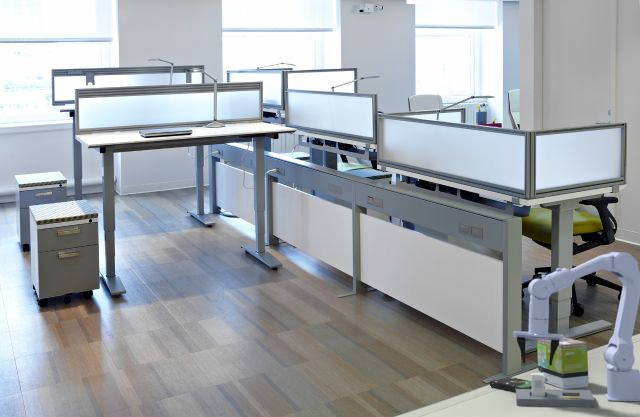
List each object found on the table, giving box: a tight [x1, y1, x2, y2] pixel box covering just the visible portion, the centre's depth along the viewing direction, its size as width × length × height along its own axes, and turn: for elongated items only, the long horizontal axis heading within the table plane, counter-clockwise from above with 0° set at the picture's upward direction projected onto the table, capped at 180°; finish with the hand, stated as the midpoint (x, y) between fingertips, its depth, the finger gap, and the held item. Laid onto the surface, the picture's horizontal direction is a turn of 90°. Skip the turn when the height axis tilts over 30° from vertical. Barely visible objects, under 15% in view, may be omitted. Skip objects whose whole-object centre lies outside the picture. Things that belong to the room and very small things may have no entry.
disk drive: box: [489, 376, 532, 394], centre depth 250 cm, size 10×3×15 cm
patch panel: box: [515, 388, 596, 408], centre depth 232 cm, size 22×14×2 cm, turn 77°
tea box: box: [536, 336, 590, 390], centre depth 256 cm, size 15×10×15 cm, turn 16°
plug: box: [530, 372, 546, 396], centre depth 232 cm, size 4×5×8 cm
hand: (537, 363), depth 233 cm, fingers open, 7 cm apart
